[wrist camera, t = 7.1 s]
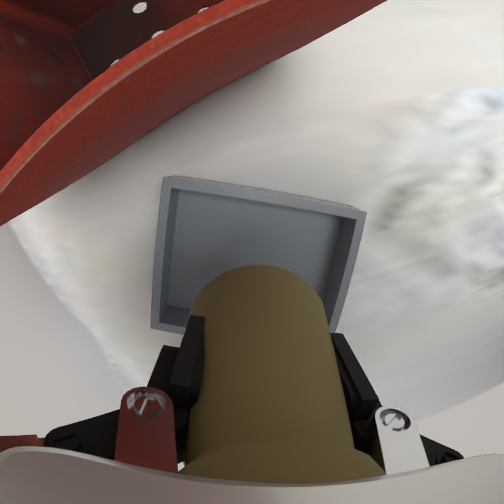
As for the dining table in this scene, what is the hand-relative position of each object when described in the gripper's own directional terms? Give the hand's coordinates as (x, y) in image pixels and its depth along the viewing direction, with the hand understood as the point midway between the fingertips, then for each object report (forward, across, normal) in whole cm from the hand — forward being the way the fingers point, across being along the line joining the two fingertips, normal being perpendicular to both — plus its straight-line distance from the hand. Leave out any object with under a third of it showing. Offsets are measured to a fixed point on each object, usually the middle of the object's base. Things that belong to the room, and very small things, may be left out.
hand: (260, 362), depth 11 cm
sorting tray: (+13, 0, 0) cm, 13 cm away
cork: (+2, 0, 0) cm, 2 cm away
